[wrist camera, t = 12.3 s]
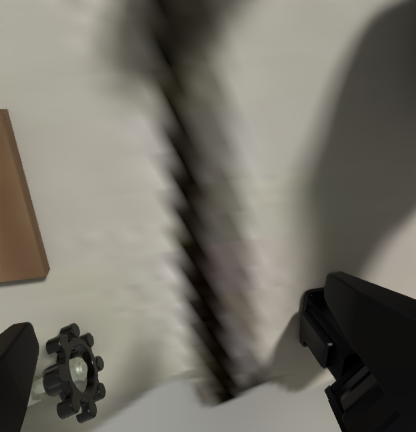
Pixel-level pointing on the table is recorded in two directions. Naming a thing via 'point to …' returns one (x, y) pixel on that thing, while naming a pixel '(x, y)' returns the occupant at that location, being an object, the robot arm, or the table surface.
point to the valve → (71, 375)
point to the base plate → (17, 215)
